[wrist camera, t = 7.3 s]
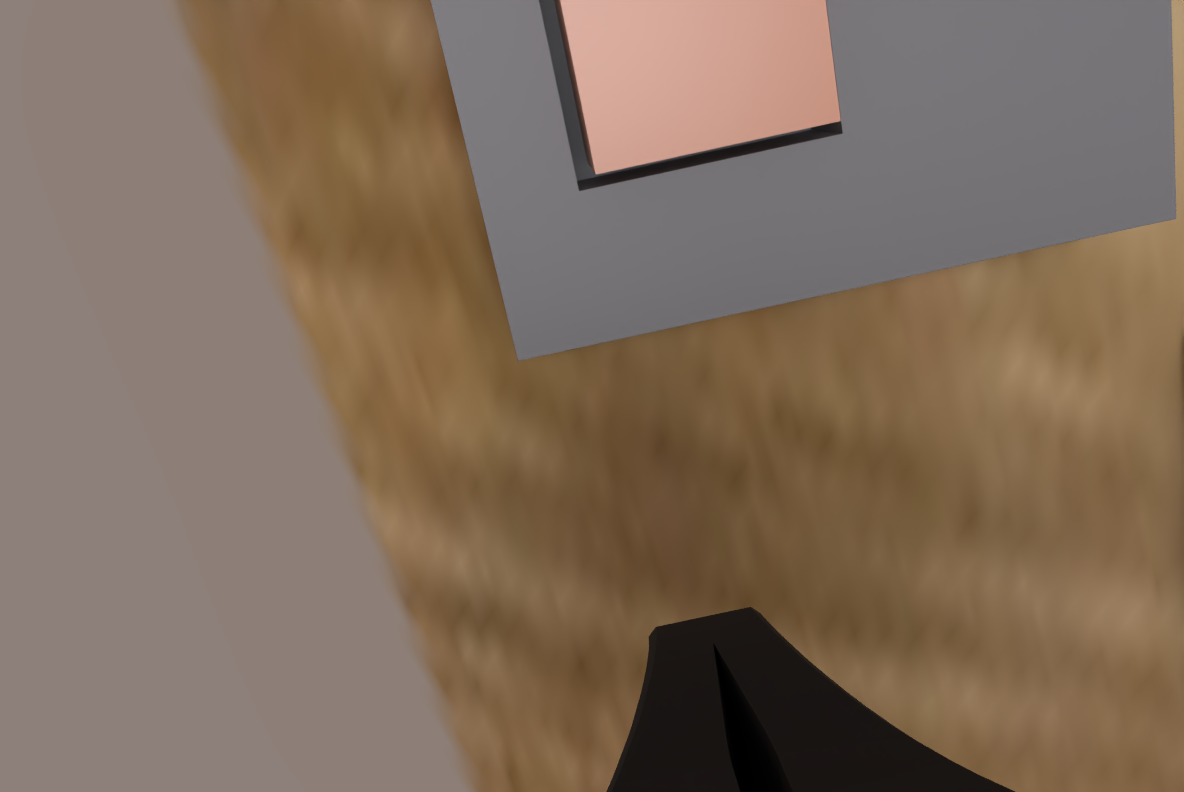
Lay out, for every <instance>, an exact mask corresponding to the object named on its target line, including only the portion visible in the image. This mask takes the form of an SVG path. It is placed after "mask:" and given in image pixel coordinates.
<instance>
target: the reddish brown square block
mask: <svg viewBox="0 0 1184 792" xmlns="http://www.w3.org/2000/svg"><path fill="white" fill-rule="evenodd" d="M554 3H555V8H556V12H557V17H558V22H559V27H560V32H561V37H562V42H563V47H564V51H565V56H566V61H567V66H568V71H569V76H570V81H571V85H572V90H573V95H574V100H575V105H576V110H577V115H578V119H579V124H580V129H581V134H582V139H583V144H584V149H585V153H586V158H587V163H588V164H589V165H590V167H591V168H592V170H593V171H594V173H595V174H601V173H606V172H610V171H615V170H619V169H624V168H628V167H633V166H638V165H642V164H647V163H651V162H656V161H660V160H665V159H669V158H674V157H679V156H683V155H688V154H692V153H697V152H701V151H706V150H711V149H715V148H720V147H724V146H729V145H733V144H738V143H743V142H747V141H752V140H756V139H761V138H765V137H770V136H775V135H779V134H784V133H788V132H793V131H797V130H802V129H807V128H811V127H816V126H820V125H825V124H829V123H834V122H839V121H841V119H840V111H839V103H838V95H837V87H836V79H835V71H834V63H833V55H832V47H831V39H830V31H829V23H828V15H827V7H826V0H554Z"/></svg>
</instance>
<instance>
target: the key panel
mask: <svg viewBox="0 0 1184 792" xmlns="http://www.w3.org/2000/svg"><path fill="white" fill-rule="evenodd" d="M431 3H432V8H433V12H434V16H435V20H436V24H437V28H438V32H439V36H440V41H441V45H442V49H443V53H444V57H445V61H446V65H447V69H448V74H449V78H450V82H451V86H452V90H453V94H454V98H455V103H456V107H457V111H458V115H459V119H460V123H461V127H462V131H463V136H464V140H465V144H466V148H467V152H468V156H469V160H470V164H471V169H472V173H473V177H474V181H475V185H476V189H477V193H478V198H479V202H480V206H481V210H482V214H483V218H484V222H485V226H486V231H487V235H488V239H489V243H490V247H491V251H492V255H493V259H494V264H495V268H496V272H497V276H498V280H499V284H500V288H501V293H502V297H503V301H504V305H505V309H506V313H507V317H508V321H509V326H510V330H511V334H512V338H513V342H514V346H515V350H516V354H517V359H518V361H520V360H525V359H529V358H534V357H539V356H543V355H548V354H553V353H557V352H562V351H566V350H571V349H576V348H580V347H585V346H590V345H594V344H599V343H603V342H608V341H613V340H617V339H622V338H627V337H631V336H636V335H640V334H645V333H650V332H654V331H659V330H664V329H668V328H673V327H677V326H682V325H687V324H691V323H696V322H701V321H705V320H710V319H714V318H719V317H724V316H728V315H733V314H738V313H742V312H747V311H751V310H756V309H761V308H765V307H770V306H775V305H779V304H784V303H788V302H793V301H798V300H802V299H807V298H812V297H816V296H821V295H825V294H830V293H835V292H839V291H844V290H849V289H853V288H858V287H862V286H867V285H872V284H876V283H881V282H886V281H890V280H895V279H899V278H904V277H909V276H913V275H918V274H923V273H927V272H932V271H936V270H941V269H946V268H950V267H955V266H960V265H964V264H969V263H973V262H978V261H983V260H987V259H992V258H997V257H1001V256H1006V255H1010V254H1015V253H1020V252H1024V251H1029V250H1034V249H1038V248H1043V247H1047V246H1052V245H1057V244H1061V243H1066V242H1071V241H1075V240H1080V239H1084V238H1089V237H1094V236H1098V235H1103V234H1108V233H1112V232H1117V231H1121V230H1126V229H1131V228H1135V227H1140V226H1145V225H1149V224H1154V223H1158V222H1163V221H1168V220H1172V219H1176V187H1175V143H1174V100H1173V57H1172V14H1171V0H826V7H827V15H828V23H829V31H830V39H831V47H832V55H833V63H834V71H835V79H836V87H837V95H838V103H839V111H840V119H841V121H839V122H834V123H829V124H825V125H820V126H816V127H811V128H807V129H802V130H797V131H793V132H788V133H784V134H779V135H775V136H770V137H765V138H761V139H756V140H752V141H747V142H743V143H738V144H733V145H729V146H724V147H720V148H715V149H711V150H706V151H701V152H697V153H692V154H688V155H683V156H679V157H674V158H669V159H665V160H660V161H656V162H651V163H647V164H642V165H638V166H633V167H628V168H624V169H619V170H615V171H610V172H606V173H601V174H595V173H594V171H593V170H592V168H591V167H590V165H589V164H588V163H587V158H586V153H585V149H584V144H583V139H582V134H581V129H580V124H579V119H578V115H577V110H576V105H575V100H574V95H573V90H572V85H571V81H570V76H569V71H568V66H567V61H566V56H565V51H564V47H563V42H562V37H561V32H560V27H559V22H558V17H557V12H556V8H555V3H554V0H431Z"/></svg>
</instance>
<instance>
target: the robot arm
mask: <svg viewBox="0 0 1184 792" xmlns="http://www.w3.org/2000/svg"><path fill="white" fill-rule="evenodd" d="M607 792H1015V791H1013V790H1010V789H1008V788H1006V787H1004V786H1002V785H1000V784H997V783H995V782H993V781H991V780H989V779H986V778H984V777H982V776H980V775H978V774H976V773H974V772H972V771H970V770H968V769H966V768H964V767H962V766H960V765H958V764H956V763H954V762H953V761H951V760H949V759H947V758H946V757H944V756H942V755H940V754H939V753H937V752H935V751H933V750H932V749H930V748H928V747H926V746H925V745H923V744H921V743H919V742H918V741H916V740H914V739H913V738H911V737H910V736H908V735H907V734H905V733H904V732H902V731H901V730H899V729H898V728H896V727H894V726H893V725H891V724H890V723H889V722H887V721H886V720H884V719H883V718H882V717H880V716H879V715H877V714H876V713H874V712H873V711H872V710H870V709H869V708H867V707H866V706H865V705H863V704H862V703H861V702H859V701H858V700H857V699H855V698H854V697H853V696H851V695H850V694H849V693H847V692H846V691H845V690H844V689H842V688H841V687H840V686H839V685H838V684H836V683H835V682H834V681H833V680H831V679H830V678H829V677H828V676H826V675H825V674H824V673H823V672H822V671H820V670H819V669H818V668H817V667H816V666H814V665H813V664H812V663H811V662H810V661H809V660H808V659H806V658H805V657H804V656H803V655H802V654H801V653H800V652H799V651H798V650H796V649H795V648H794V647H793V646H792V645H791V644H790V643H789V642H788V641H787V640H786V639H785V638H784V637H783V636H782V635H781V634H780V633H779V632H778V631H777V630H776V629H775V628H774V627H773V626H772V625H771V624H770V623H769V622H768V621H767V620H766V619H765V618H764V617H763V616H762V615H761V614H760V613H759V612H757V611H756V610H754V609H753V608H751V607H748V608H744V609H739V610H734V611H729V612H725V613H720V614H715V615H710V616H706V617H701V618H696V619H692V620H687V621H682V622H677V623H673V624H668V625H663V626H658V627H656V628H655V629H654V630H653V632H652V633H651V634H650V636H649V653H648V662H647V668H646V673H645V678H644V683H643V687H642V692H641V695H640V699H639V702H638V706H637V709H636V713H635V716H634V720H633V723H632V727H631V730H630V733H629V736H628V739H627V741H626V744H625V747H624V749H623V752H622V754H621V757H620V760H619V762H618V765H617V768H616V770H615V773H614V776H613V778H612V780H611V783H610V785H609V787H608V790H607Z"/></svg>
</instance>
